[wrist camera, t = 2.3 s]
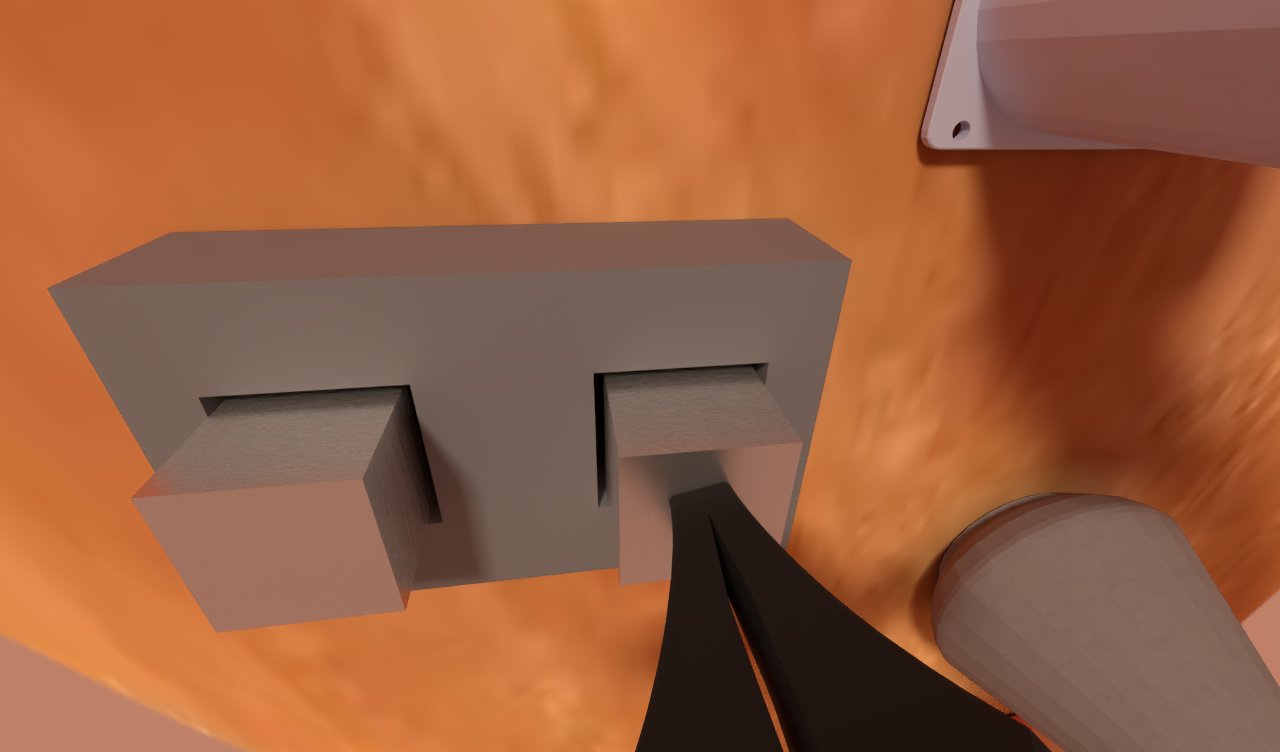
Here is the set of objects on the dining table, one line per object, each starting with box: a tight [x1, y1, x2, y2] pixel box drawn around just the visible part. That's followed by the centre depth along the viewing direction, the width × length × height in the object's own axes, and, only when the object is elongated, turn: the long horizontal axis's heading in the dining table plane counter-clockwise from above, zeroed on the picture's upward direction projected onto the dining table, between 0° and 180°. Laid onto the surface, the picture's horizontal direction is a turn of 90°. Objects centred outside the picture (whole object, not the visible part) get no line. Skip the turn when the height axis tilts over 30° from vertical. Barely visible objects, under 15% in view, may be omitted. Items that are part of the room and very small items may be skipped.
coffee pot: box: [931, 493, 1280, 752], centre depth 21 cm, size 21×12×15 cm, turn 99°
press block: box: [47, 219, 852, 591], centre depth 16 cm, size 17×10×4 cm, turn 89°
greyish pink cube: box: [131, 385, 435, 632], centre depth 13 cm, size 4×4×4 cm
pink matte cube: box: [603, 364, 803, 586], centre depth 14 cm, size 4×4×4 cm
